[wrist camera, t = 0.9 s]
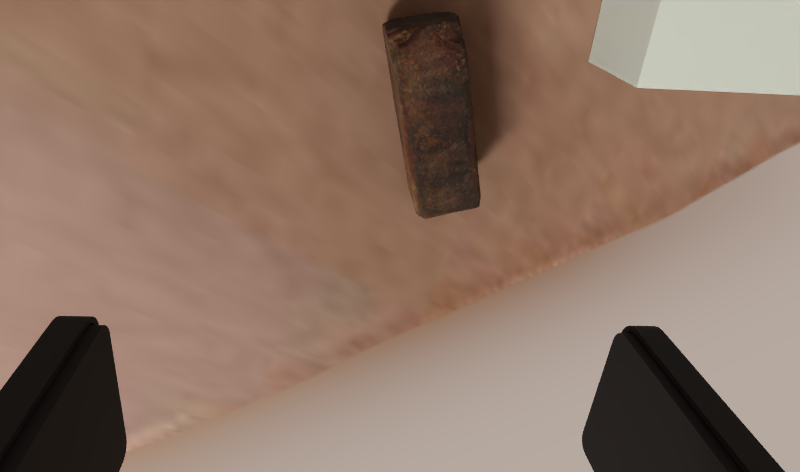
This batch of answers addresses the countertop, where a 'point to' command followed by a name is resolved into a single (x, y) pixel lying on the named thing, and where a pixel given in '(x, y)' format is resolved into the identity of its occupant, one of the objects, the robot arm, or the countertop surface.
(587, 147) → the countertop surface
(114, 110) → the countertop surface
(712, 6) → the sage block
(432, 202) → the brick
